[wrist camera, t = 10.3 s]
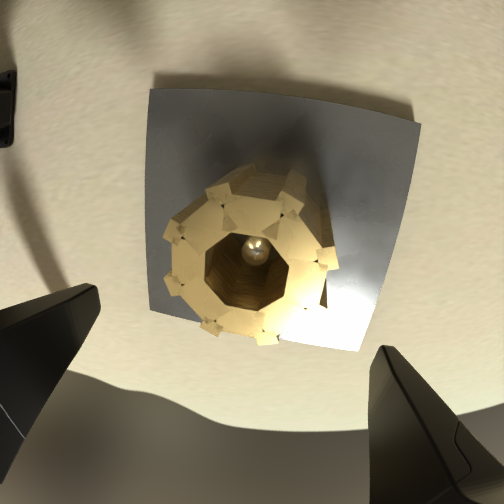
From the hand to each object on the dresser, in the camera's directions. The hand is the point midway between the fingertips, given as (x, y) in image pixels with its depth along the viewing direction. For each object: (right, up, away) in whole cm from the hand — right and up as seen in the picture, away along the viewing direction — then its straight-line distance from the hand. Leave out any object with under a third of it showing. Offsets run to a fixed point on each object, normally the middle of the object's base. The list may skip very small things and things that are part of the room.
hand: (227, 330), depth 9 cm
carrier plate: (+2, +4, +8) cm, 9 cm away
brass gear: (+1, +3, +8) cm, 8 cm away
